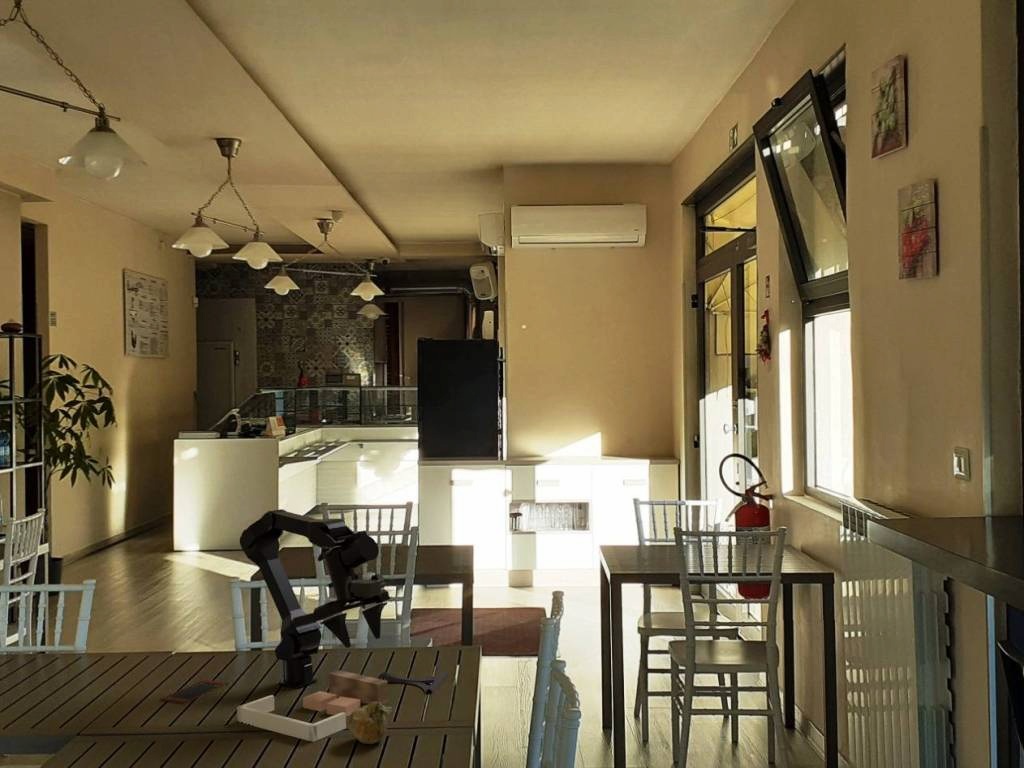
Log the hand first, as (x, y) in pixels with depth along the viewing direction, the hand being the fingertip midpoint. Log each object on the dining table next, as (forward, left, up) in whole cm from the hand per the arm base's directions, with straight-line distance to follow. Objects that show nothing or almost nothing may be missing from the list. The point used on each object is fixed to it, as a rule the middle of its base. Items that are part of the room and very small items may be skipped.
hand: (363, 642), depth 220 cm
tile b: (+2, -8, -13) cm, 15 cm away
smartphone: (-37, -16, -13) cm, 42 cm away
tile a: (-5, -8, -13) cm, 16 cm away
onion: (+18, -18, -13) cm, 29 cm away
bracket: (0, +15, -13) cm, 20 cm away
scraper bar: (-2, 0, -13) cm, 13 cm away
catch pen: (-2, -20, -12) cm, 23 cm away
